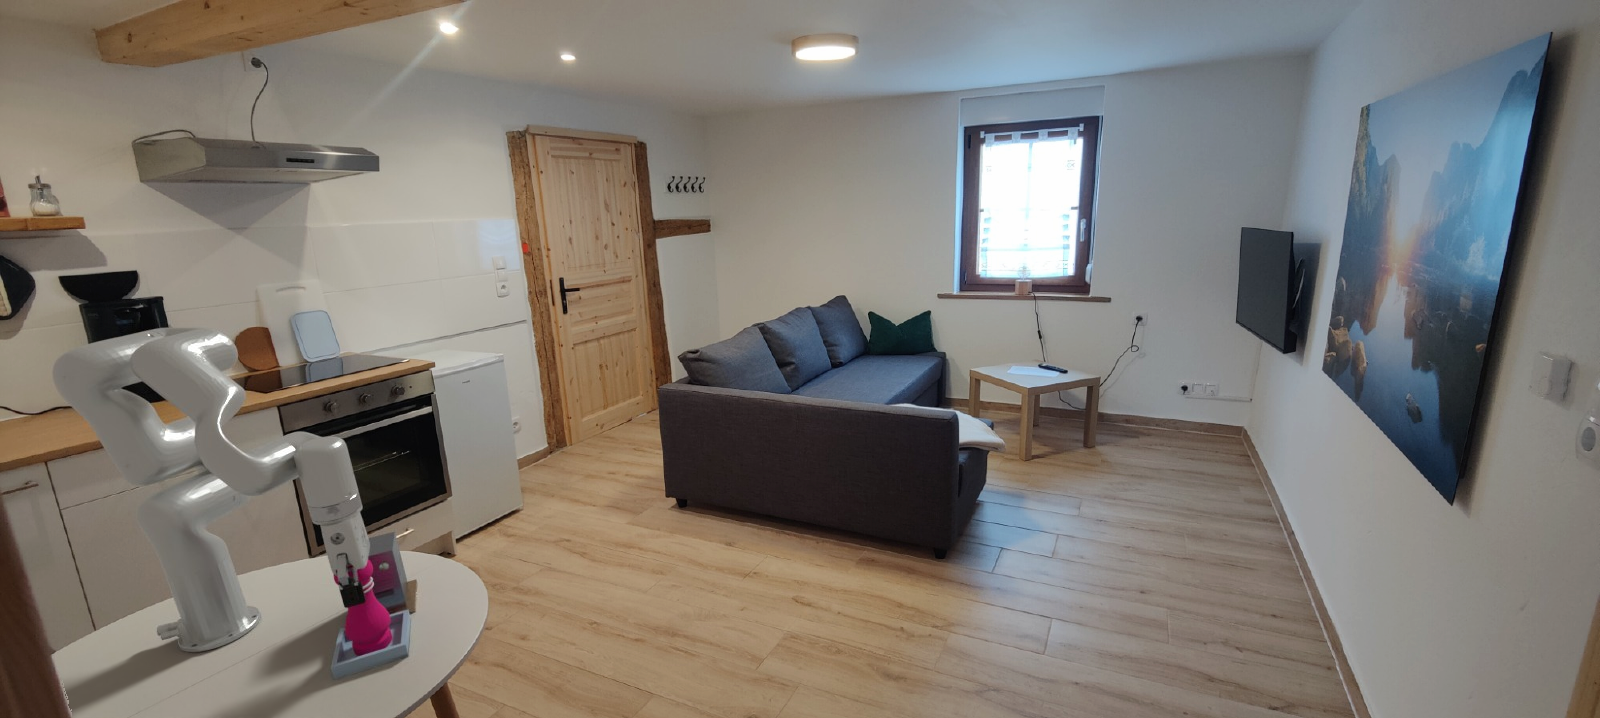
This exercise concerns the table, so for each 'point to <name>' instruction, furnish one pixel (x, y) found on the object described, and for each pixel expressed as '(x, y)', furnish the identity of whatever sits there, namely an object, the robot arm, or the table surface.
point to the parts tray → (351, 663)
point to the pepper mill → (367, 618)
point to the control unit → (391, 575)
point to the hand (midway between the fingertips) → (358, 589)
